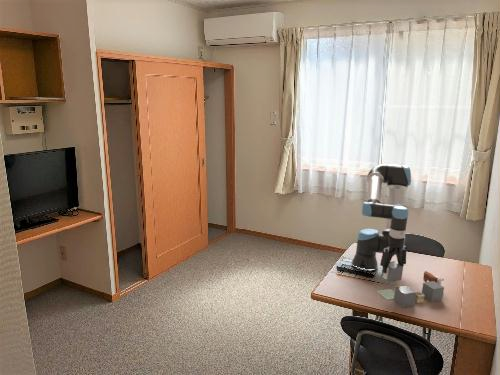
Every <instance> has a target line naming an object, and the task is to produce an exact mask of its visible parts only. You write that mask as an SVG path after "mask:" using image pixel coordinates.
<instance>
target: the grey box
mask: <svg viewBox="0 0 500 375" xmlns="http://www.w3.org/2000/svg"><path fill="white" fill-rule="evenodd" d="M388 268H389V272H388V279H387V281H388V282H390V283H391V282H392V283H393V282H397V281H402V278H403V271H404V266H401V265H399V264H398V262H396V261H394V260H393V261H392V260H391V261H390V263H389V266H388ZM381 277H382V278H383V267H382V270H381Z"/></svg>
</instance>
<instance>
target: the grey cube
mask: <svg viewBox="0 0 500 375" xmlns="http://www.w3.org/2000/svg"><path fill="white" fill-rule="evenodd" d="M444 291H445V286H442V284H441V285H440V284H438V283H436V282H435V281H431V282H429V281H428V282H422V289H421V293H422V294H424V295H425V297H424V299H425V300H427V301H429V302H430V303H435V302H440V301H442V300H443V296H444Z"/></svg>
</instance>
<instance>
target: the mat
mask: <svg viewBox="0 0 500 375" xmlns="http://www.w3.org/2000/svg"><path fill="white" fill-rule="evenodd" d="M376 293H377V294H378V295H380V296H381V297H383V299H385V300H386V301H392V300H394V293H395V290H393V289H391V288H388V289H387V288H386V289H381V290H376Z"/></svg>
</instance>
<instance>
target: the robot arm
mask: <svg viewBox="0 0 500 375" xmlns="http://www.w3.org/2000/svg"><path fill="white" fill-rule="evenodd" d="M366 181H367V195H366V201H363V203H362V207H361V208H362V209H361V215H362V216H365V217H369V218H370V217H371V218H379V219H386V220H385V228H384V229H382V233H380V232H379V230H377V229H376V228H375V229H374V228H364V229H361V230H359V231H358V233H357V237H356V238H357V241H356V250H355V254H354V257H353V259H352V261H351V265H352V264H353V265H354V266H357V267H360V268H365V269H377V270H378V260H377V254H382V256H381V259H380V265H379V266H381V267H382V268H383V277H382V278H383V279H385V280H387V279H388V272H389V268H388V266H389V263H390V262H392V258H393V257H394V256H396V260H397V263H398V264H399V265H401V266H403V267H404V266H405V265H406V264H407V251H408V246H407V245H405V243H406V229H407V223H408V218H409V209H408V208H407V207H406V206H404V201H405V200H404V198H405V191H406V190H407V189H408V188H409V186H411V184H412V173H411V168H410V166H408V165H402V164H401V165H400V164H387V163H380V164H377V165H376V166H373V167H372V168H371V169H370V170H369V171H368V173H367V176H366ZM383 184H387V185H386V187H387V188H388V201H387V204H386V203H385V204H384V203H381V202H382V189H383V188H382V185H383ZM387 281H388V280H387Z"/></svg>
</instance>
